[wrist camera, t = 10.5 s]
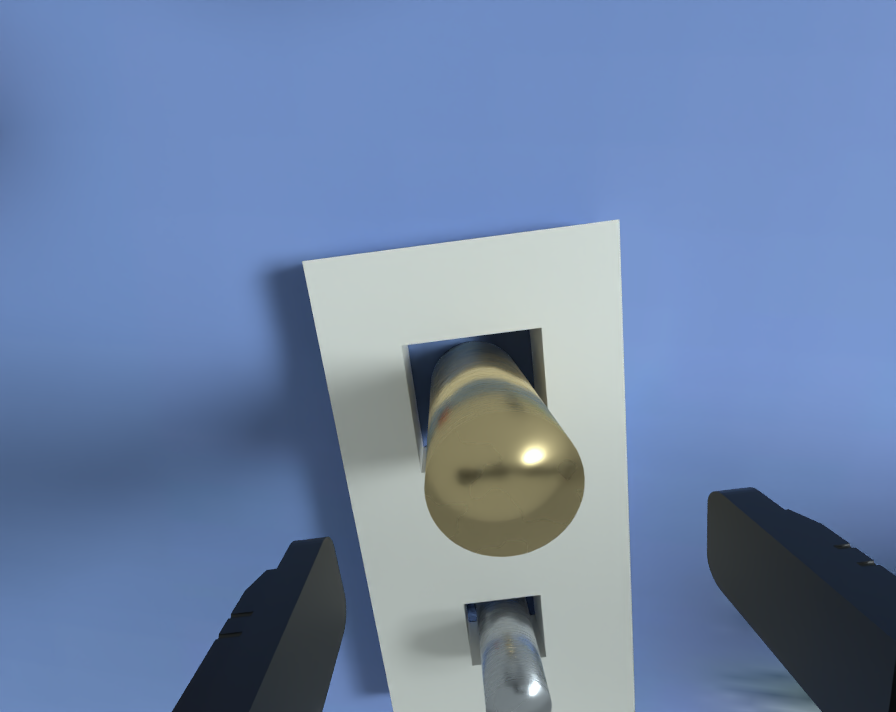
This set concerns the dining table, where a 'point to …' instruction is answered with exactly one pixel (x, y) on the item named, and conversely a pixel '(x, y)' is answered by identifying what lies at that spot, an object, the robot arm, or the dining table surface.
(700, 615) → the dining table surface
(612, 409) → the plate
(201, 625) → the dining table surface
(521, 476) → the cylinder
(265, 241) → the dining table surface
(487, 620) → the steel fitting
